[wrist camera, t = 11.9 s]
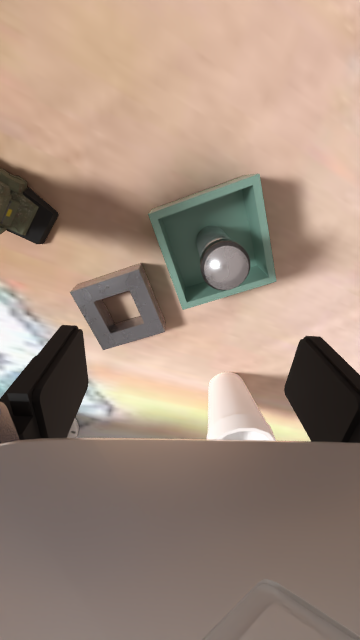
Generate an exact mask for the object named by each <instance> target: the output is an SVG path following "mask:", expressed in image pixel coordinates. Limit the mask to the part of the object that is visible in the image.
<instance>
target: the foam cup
mask: <svg viewBox="0 0 360 640" xmlns="http://www.w3.org/2000/svg"><path fill="white" fill-rule="evenodd" d="M206 437H207V439H217V440H267V441H276V440H275V437H274V435H273V432H272V429H271V427H270V426H269V424H268V423H267V422H266V421H265V419H264V417H263V415H262V413H261V412H260V410H259V408H258V406H257V404H256V403H255V401H254V399H253V397H252V395H251V394H250V392H249V390H248V388H247V386H246V385H245V383H244V381H243V380H242V378H241V377H240V376H239V375H238V374H235V373H233V372H223V373H220V374H218V375H216V376H215V377H214V378H212V379H211V381H210V384H209V399H208V434H207V436H206Z"/></svg>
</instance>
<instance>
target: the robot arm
mask: <svg viewBox="0 0 360 640" xmlns="http://www.w3.org/2000/svg"><path fill="white" fill-rule="evenodd" d="M87 387H88V374H87V365H86V357H85V348H84V339H83V331H82V330H81V329H78V327H77V326H70V325H62V326H61V327H60V328H59V329H58V330H57V332H56V333H55V334H54V335H53V336H52V338H51V339H50V340H49V341H48V343H47V344H46V345H45V346H44V348H43V349H42V350H41V351H40V353H39V354H38V355H37V356H35V357H34V358H33V359H32V360H31V361H30V363H29V364H28V365H27V366H26V368H25V369H24V370H23V371H22V373H21V374H20V375H19V376H18V377H17V379H16V380H15V381H14V382H13V384H12V385H11V386H10V387H9V388H8V390H7V391H6V392H5V393H4V395H3V396H2V397H1V398H0V640H360V375H359V374H358V373H357V372H356V371H355V370H354V369H353V368H352V367H351V366H350V365H349V364H348V363H347V362H346V361H345V360H344V359H343V358H342V357H341V356H340V355H339V354H338V353H337V352H336V351H335V350H334V349H333V348H332V347H331V346H330V345H328V344H327V343H326V342H325V341H324V340H323V339H322V338H321V337H315V336H306V337H304V338H303V339H301V340H300V342H299V344H298V347H297V350H296V354H295V357H294V360H293V363H292V366H291V369H290V372H289V375H288V378H287V381H286V384H285V388H284V391H285V395H286V397H287V399H288V400H289V402H290V404H291V406H292V407H293V409H294V411H295V413H296V415H297V416H298V418H299V420H300V422H301V423H302V425H303V427H304V429H305V431H306V432H307V434H308V436H309V438H310V440H311V441H312V442H308V441H267V440H217V439H153V438H76V437H77V435H78V432H79V425H78V422H77V420H76V418H75V417H76V414H77V412H78V410H79V407H80V405H81V402H82V400H83V398H84V395H85V393H86V390H87Z"/></svg>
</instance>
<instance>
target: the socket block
mask: <svg viewBox="0 0 360 640" xmlns="http://www.w3.org/2000/svg"><path fill="white" fill-rule="evenodd" d="M126 291H130V293H131V295H132V297H133V299H134V301H135V304H136V306H137V308H138V310H139V312H140V315H141V316H138V317H135V318H132V319H129V320H125V321H122V322H119V323H116V324H114V322H113V320H112V318H111V316H110V314H109V312H108V310H107V308H106V306H105V304H104V302H103V300H102V299H104V298H107V297H110V296H113V295H116V294H119V293H123V292H126ZM70 293H71V295H72V297H73V298H74V300H75V302H76V304H77V305H78V307H79V309H80V311H81V312H82V314H83V316H84V318H85V319H86V321H87V323H88V324H89V326H90V328H91V330H92V331H93V333H94V335H95V337H96V338H97V340H98V342H99V344H100V345H101V347H102V349H103V350H105V349H109V348H112V347H115V346H119V345H122V344H126V343H129V342H132V341H136V340H139V339H143V338H146V337H149V336H153V335H156V334H159V333H163V332H165V323H166V322H165V320H164V317H163V315H162V312H161V310H160V307H159V305H158V302H157V300H156V298H155V295H154V293H153V290H152V288H151V285H150V283H149V280H148V278H147V276H146V273H145V271H144V268H143V266H142V263H139V264H136V265H134V266H131V267H128V268H125V269H122V270H119V271H116V272H113V273H110V274H107V275H104V276H101V277H98V278H95V279H92V280H89V281H86V282H83V283H80V284H77V285H76V286H75V287H74V289H73V290H72V291H71V292H70Z"/></svg>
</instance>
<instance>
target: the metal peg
mask: <svg viewBox="0 0 360 640" xmlns="http://www.w3.org/2000/svg"><path fill="white" fill-rule="evenodd" d="M196 245H197V249H198V252H199V256H200V270H201V273H202V277H203V279H204V281H205V282H206V283H207V284H208V285H209V286H210V287H212V288H214V289H217V290H231V289H233V288H236V287H237V286H239V285H240V284H241V283H243V281H244V280H245V279H246V278H247V276H248V274H249V271H250V258H249V255H248V253H247V252H246V250H245V249H244V248H243V247H242V246H241V245H240V244H239V243H237V242H236V241H234V240H231V239H230V238H229V237H228V236H227V235H226V233H225V232H224V231H223V230H222V229H221V228H219V227H217V226H207V227H205V228H203V229H202V230H201V231H200V232H199V234H198V236H197V239H196Z"/></svg>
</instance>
